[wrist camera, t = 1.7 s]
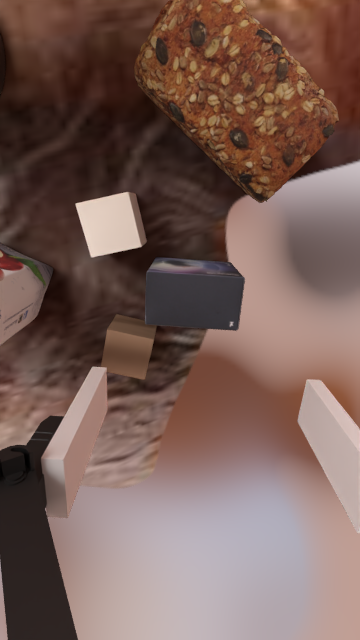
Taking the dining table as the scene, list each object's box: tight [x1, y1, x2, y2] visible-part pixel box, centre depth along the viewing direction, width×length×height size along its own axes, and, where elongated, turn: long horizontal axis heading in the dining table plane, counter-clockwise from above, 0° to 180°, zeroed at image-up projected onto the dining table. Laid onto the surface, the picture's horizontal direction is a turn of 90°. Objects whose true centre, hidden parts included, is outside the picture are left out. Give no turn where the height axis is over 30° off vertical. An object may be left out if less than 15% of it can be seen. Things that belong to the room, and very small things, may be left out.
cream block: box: [76, 192, 147, 257], centre depth 38 cm, size 6×6×6 cm
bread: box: [134, 0, 339, 203], centre depth 32 cm, size 19×11×10 cm, turn 49°
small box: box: [145, 257, 245, 331], centre depth 39 cm, size 11×6×10 cm, turn 86°
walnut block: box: [101, 314, 157, 380], centre depth 44 cm, size 6×6×6 cm
